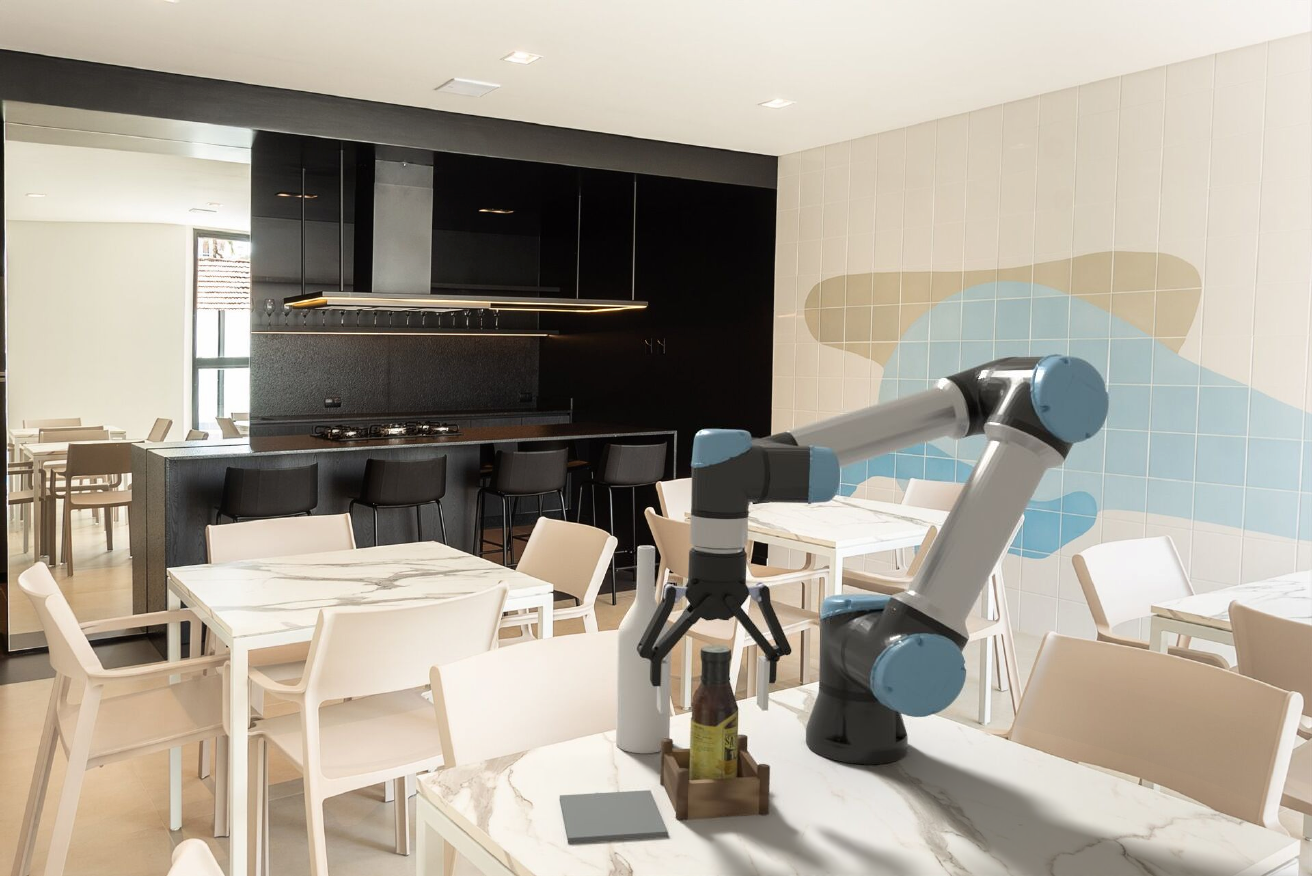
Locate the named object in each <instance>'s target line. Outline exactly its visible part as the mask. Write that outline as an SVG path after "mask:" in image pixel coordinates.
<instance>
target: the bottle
mask: <svg viewBox="0 0 1312 876" xmlns="http://www.w3.org/2000/svg"><path fill="white" fill-rule="evenodd" d="M636 554H637V555H636V556H637V557H636V559H637V561H636V562H637V565H636V591H635V599H634V601H633V603H632V605H631V606H630V608H629V610H628V611H627V613H626V614H625V615H624V617H623V619H622V621H621V622H620V624H619V627H618V630H617V651H616V652H617V656H616V657H617V658H616V659H617V660H616V663H617V664H616V706H615V707H616V714H615V715H616V716H615V718H616V721H615V724H616V725H615V744H616V746H617V747H618V748H619V749H621V750H623V751H626V752H628V753H634V754H654V753H658V752H661V739H663V738H670V733H671V732H670V730H671V727H670V726H671V689H672V688H671V685H672V684H671V680H672V678H671V677H672V649H671V650H670V652H669V653H668V654H667V655H666V656H665V657H664V659H665V660H666V662H667V663H668V675H667V705H666V713H664V714H660V712H659V710H658V708H657V686H653V685H652V684H651V681H650V660H649V659H647V658H642V657H641V656H640V655H639V653H638V651H637V646H638V644H639V642H640V640H641V638H642V636H643V634H644V633H645V631H646V629H647V627H648V625H649V623H650V621H651V619H652V617H653V615H654V614H655V612H656V610H657V608H658V606H659V604H658V602H657V600H656V595H655V590H656V589H655V584H656V583H655V580H656V579H655V578H656V577H655V574H656V569H655V568H656V547H655V546H653V545H639V546H637V553H636ZM670 628H671V626H670V624H669V621H668V620H667V621H666V623H665V625H664V627H663V629H662V630H661V632H660V634H659V636H658V638H657V640H656V642H655V644H654V646H655V645H656V644H657V643H658V642H659V641H660V639H661V638H662V637H663V636H664V635H665V634H666V633H667V631H668V630H669V629H670ZM654 646H653V648H654Z"/></svg>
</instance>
